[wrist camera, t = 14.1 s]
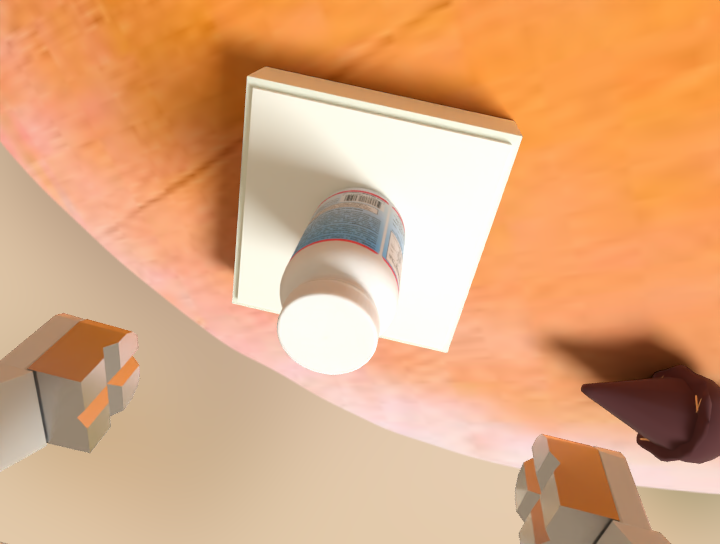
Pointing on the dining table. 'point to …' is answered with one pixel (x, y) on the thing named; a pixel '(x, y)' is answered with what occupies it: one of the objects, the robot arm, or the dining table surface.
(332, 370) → the pill bottle
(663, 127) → the dining table surface
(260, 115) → the base block
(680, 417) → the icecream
